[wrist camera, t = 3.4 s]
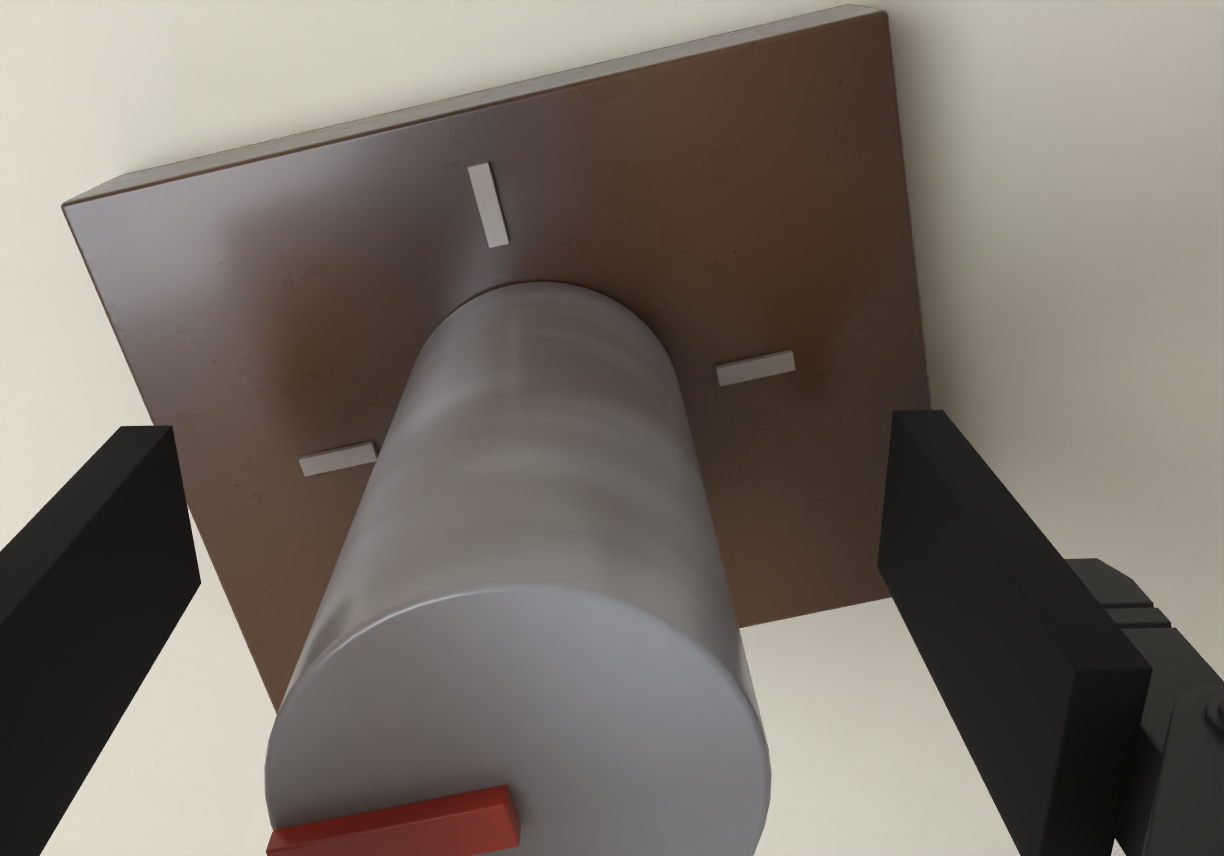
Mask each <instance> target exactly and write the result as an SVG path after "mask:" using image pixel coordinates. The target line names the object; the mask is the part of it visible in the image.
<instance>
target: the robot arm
mask: <svg viewBox="0 0 1224 856" xmlns="http://www.w3.org/2000/svg"><path fill="white" fill-rule="evenodd" d="M877 568H878V570H879V572H880V574H881V576H882V578H883V580H884V582H885V584H886V586H887V588H888V590H889V592H890V594H891V596H892V598H893V600H894V602H895V604H896V606H897V608H898V610H899V612H900V614H901V616H902V618H903V620H904V622H905V624H906V626H907V628H908V630H909V632H910V634H911V636H912V638H913V640H914V642H915V644H916V646H917V648H918V650H919V652H920V654H921V656H922V658H923V660H924V662H925V664H926V666H927V668H928V670H929V672H930V674H931V676H932V678H933V680H934V682H935V684H936V686H937V688H938V690H939V692H940V694H941V696H942V698H943V701H944V703H945V705H946V707H947V709H948V711H949V713H950V715H951V717H952V719H953V721H954V723H955V725H956V727H957V729H958V731H959V733H960V735H961V737H962V739H963V741H964V743H965V745H966V747H967V749H968V751H969V753H970V755H971V757H972V759H973V761H974V763H975V765H976V767H977V769H978V771H979V773H980V775H981V777H982V779H983V781H984V783H985V785H986V787H987V789H988V791H989V793H990V795H991V797H992V799H993V801H994V803H995V805H996V807H997V809H998V811H999V813H1000V815H1001V817H1002V819H1003V821H1004V823H1005V825H1006V827H1007V829H1008V831H1009V833H1010V835H1011V837H1012V839H1013V841H1014V843H1015V845H1016V847H1017V849H1018V851H1019V853H1020V855H1021V856H1111V852H1112V848H1113V843H1114V839H1115V838H1116V840H1117V842H1118V843H1119V845H1120V847H1121V848H1122V850H1123V851H1124V853H1125V855H1126V856H1224V681H1223V680H1222V679H1221V678H1220V677H1219V676H1218V675H1217V673H1216V672H1215V671H1214V670H1213V669H1212V668H1211V667H1210V666H1209V664H1208V663H1207V662H1206V661H1205V660H1204V659H1203V658H1202V657H1201V656H1200V654H1199V653H1198V652H1197V651H1196V650H1195V649H1194V648H1193V647H1192V646H1191V644H1190V643H1189V642H1188V641H1187V640H1186V639H1185V638H1184V637H1183V635H1182V634H1181V633H1180V632H1179V631H1178V630H1177V629H1176V628H1172V627H1171V622H1170V621H1169V620H1168V619H1167V618H1166V617H1165V615H1164V614H1163V613H1162V612H1161V611H1160V610H1159V609H1158V608H1154V606H1153V602H1152V601H1151V600H1150V599H1149V598H1148V596H1147V595H1146V594H1145V593H1144V592H1143V591H1142V590H1141V589H1140V588H1139V586H1138V585H1137V584H1136V583H1135V582H1134V581H1133V580H1132V579H1131V578H1129V577H1128V576H1126V575H1124V574H1123V573H1121V572H1119V571H1118V570H1116V569H1114V568H1113V567H1111V566H1109V565H1108V564H1106V563H1104V562H1102V561H1101V560H1099V559H1097V558H1090V559H1063V557H1062V556H1061V555H1060V554H1059V552H1058V551H1057V550H1056V549H1055V547H1054V546H1053V545H1052V544H1051V543H1050V541H1049V540H1048V539H1047V538H1046V536H1045V535H1044V534H1043V533H1042V531H1041V530H1040V529H1039V528H1038V527H1037V525H1036V524H1035V523H1034V522H1033V520H1032V519H1031V518H1030V517H1029V516H1028V514H1027V513H1026V512H1025V511H1024V509H1023V508H1022V507H1021V506H1020V504H1019V503H1018V502H1017V501H1016V500H1015V498H1014V497H1013V496H1012V495H1011V493H1010V492H1009V491H1008V490H1007V488H1006V487H1005V486H1004V485H1003V484H1002V482H1001V481H1000V480H999V479H998V477H997V476H996V475H995V474H994V472H993V471H992V470H991V469H990V468H989V466H988V465H987V464H986V463H985V461H984V460H983V459H982V458H981V457H980V455H979V454H978V453H977V452H976V450H975V449H974V448H973V447H972V445H971V444H970V443H969V442H968V441H967V439H966V438H965V437H964V436H963V434H962V433H961V432H960V431H959V429H958V428H957V427H956V426H955V425H954V423H953V422H952V421H951V420H950V418H949V417H948V416H947V415H946V413H945V412H944V411H943V410H905V411H893V415H892V424H891V434H890V444H889V454H888V464H887V474H886V484H885V494H884V503H883V513H882V523H881V533H880V543H879V553H878V563H877ZM200 584H201V579H200V574H199V568H198V563H197V557H196V552H195V546H194V541H193V535H192V530H191V524H190V519H189V513H188V508H187V502H186V497H185V491H184V486H183V480H182V475H181V470H180V464H179V459H178V453H177V448H176V442H175V437H174V431H173V426H172V425H163V426H121V427H120V428H119V429H118V430H117V431H116V432H115V433H114V434H113V435H112V436H111V437H110V438H109V439H108V440H107V441H106V442H105V443H104V445H103V446H102V447H101V448H100V449H99V450H98V451H97V452H96V453H95V454H94V455H93V456H92V457H91V458H90V459H89V460H88V461H87V462H86V463H85V464H84V465H83V466H82V467H81V468H80V469H79V470H78V472H77V473H76V474H75V475H74V476H73V477H72V478H71V479H70V480H69V481H68V482H67V483H66V484H65V485H64V486H63V487H62V488H61V489H60V490H59V491H58V492H57V493H56V494H55V495H54V496H53V498H52V499H51V500H50V501H49V502H48V503H47V504H46V505H45V506H44V507H43V508H42V509H41V510H40V511H39V512H38V513H37V514H36V515H35V516H34V517H33V518H32V519H31V520H30V521H29V522H28V523H27V525H26V526H25V527H24V528H23V529H22V530H21V531H20V532H19V533H18V534H17V535H16V536H15V537H14V538H13V539H12V540H11V541H10V542H9V543H8V544H7V545H6V546H5V547H4V548H3V549H2V551H1V552H0V856H40V854H41V852H42V851H43V849H44V847H45V846H46V844H47V842H48V840H49V839H50V837H51V835H52V834H53V832H54V830H55V829H56V827H57V825H58V824H59V822H60V820H61V819H62V817H63V815H64V814H65V812H66V810H67V808H68V807H69V805H70V803H71V802H72V800H73V798H74V797H75V795H76V793H77V792H78V790H79V788H80V787H81V785H82V783H83V781H84V780H85V778H86V776H87V775H88V773H89V771H90V770H91V768H92V766H93V765H94V763H95V761H96V760H97V758H98V756H99V755H100V753H101V751H102V749H103V748H104V746H105V744H106V743H107V741H108V739H109V738H110V736H111V734H112V733H113V731H114V729H115V728H116V726H117V724H118V723H119V721H120V719H121V717H122V716H123V714H124V712H125V711H126V709H127V707H128V706H129V704H130V702H131V701H132V699H133V697H134V696H135V694H136V692H137V691H138V689H139V687H140V685H141V684H142V682H143V680H144V679H145V677H146V675H147V674H148V672H149V670H150V669H151V667H152V665H153V664H154V662H155V660H156V659H157V657H158V655H159V653H160V652H161V650H162V648H163V647H164V645H165V643H166V642H167V640H168V638H169V637H170V635H171V633H172V632H173V630H174V628H175V627H176V625H177V623H178V621H179V620H180V618H181V616H182V615H183V613H184V611H185V610H186V608H187V606H188V605H189V603H190V601H191V600H192V598H193V596H194V594H195V593H196V591H197V589H198V588H199V586H200Z"/></svg>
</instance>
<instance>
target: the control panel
mask: <svg viewBox="0 0 1224 856" xmlns="http://www.w3.org/2000/svg"><path fill="white" fill-rule="evenodd" d="M61 208H62V211H63V213H64V216H65V218H66V220H67V223H68V225H69V227H70V230H71V232H72V234H73V237H74V239H75V241H76V244H77V246H78V249H79V251H80V253H81V256H82V258H83V260H84V263H85V265H86V267H87V270H88V272H89V274H90V277H91V279H92V281H93V284H94V286H95V288H96V291H97V293H98V296H99V298H100V300H101V303H102V305H103V307H104V310H105V312H106V314H107V317H108V319H109V321H110V324H111V326H112V328H113V331H114V333H115V335H116V338H117V340H118V342H119V345H120V347H121V350H122V352H123V354H124V357H125V359H126V361H127V364H128V366H129V368H130V371H131V373H132V375H133V378H134V380H135V382H136V385H137V387H138V389H139V392H140V394H141V397H142V399H143V401H144V404H145V406H146V408H147V411H148V413H149V415H150V418H151V420H152V422H153V425H154V426H163V425H172V426H173V431H174V437H175V442H176V448H177V453H178V459H179V464H180V470H181V475H182V480H183V486H184V491H185V497H186V502H187V505H188V507H189V509H190V512H191V514H192V516H193V519H194V521H195V523H196V526H197V528H198V530H199V533H200V535H201V537H202V540H203V542H204V544H205V547H206V549H207V552H208V554H209V556H210V559H211V561H212V563H213V566H214V568H215V570H216V573H217V575H218V577H219V580H220V582H221V584H222V587H223V589H224V591H225V594H226V596H227V598H228V601H229V603H230V606H231V608H232V610H233V613H234V615H235V617H236V620H237V622H238V624H239V627H240V629H241V631H242V634H243V636H244V638H245V641H246V643H247V645H248V648H249V650H250V653H251V655H252V657H253V660H254V662H255V664H256V667H257V669H258V671H259V674H260V676H261V678H262V681H263V683H264V685H265V688H266V690H267V692H268V695H269V697H270V699H271V702H272V704H273V707H274V709H275V711H276V714H277V713H278V711H279V708H280V706H281V703H282V701H283V698H284V696H285V693H286V691H287V688H288V685H289V683H290V680H291V678H292V675H293V673H294V670H295V668H296V665H297V662H298V660H299V657H300V655H301V652H302V650H303V647H304V645H305V642H306V639H307V637H308V634H309V632H310V629H311V627H312V624H313V622H314V619H315V616H316V614H317V611H318V609H319V606H320V604H321V601H322V599H323V596H324V593H325V591H326V588H327V586H328V583H329V581H330V578H331V576H332V573H333V570H334V568H335V565H336V563H337V560H338V558H339V555H340V553H341V550H342V547H343V545H344V542H345V540H346V537H347V535H348V532H349V530H350V527H351V524H352V522H353V519H354V517H355V514H356V512H357V509H358V507H359V504H360V501H361V499H362V496H363V494H364V491H365V489H366V486H367V484H368V481H369V478H370V476H371V473H372V471H373V468H374V466H375V463H376V461H377V458H378V455H379V453H380V450H381V448H382V445H383V443H384V440H385V438H386V435H387V433H388V430H389V427H390V425H391V422H392V420H393V417H394V415H395V412H396V410H397V407H398V404H399V402H400V399H401V397H402V394H403V392H404V389H405V387H406V384H407V381H408V379H409V376H410V374H411V371H412V369H413V366H414V364H415V361H416V359H417V357H418V355H419V353H420V351H421V349H422V347H423V346H424V344H425V343H426V341H427V340H428V338H429V337H430V336H431V334H432V333H433V331H434V330H435V329H436V328H437V327H438V326H439V325H440V324H441V323H442V322H443V321H444V320H445V319H446V318H447V317H448V316H449V315H451V314H452V313H453V312H454V311H456V310H457V309H458V308H459V307H461V306H462V305H464V304H466V303H467V302H469V301H471V300H472V299H474V298H476V297H478V296H480V295H483V294H485V293H487V292H489V291H492V290H495V289H498V288H502V287H505V286H509V285H514V284H520V283H526V282H557V283H567V284H571V285H575V286H580V287H584V288H587V289H590V290H593V291H595V292H598V293H601V294H603V295H605V296H607V297H609V298H611V299H613V300H615V301H617V302H619V303H620V304H622V305H623V306H624V307H626V308H627V309H629V310H630V311H632V312H633V313H634V314H635V315H636V316H638V317H639V318H640V319H641V320H642V321H643V322H644V323H645V324H646V325H647V326H648V327H649V328H650V329H651V330H652V332H653V333H654V334H655V335H656V337H657V338H658V339H659V340H660V342H661V344H662V345H663V347H664V348H665V350H666V352H667V353H668V355H669V358H670V360H671V362H672V364H673V367H674V369H675V372H676V375H677V379H678V382H679V386H680V390H681V394H682V398H683V402H684V406H685V410H686V414H687V418H688V422H689V427H690V431H691V435H692V439H693V443H694V447H695V451H696V455H697V459H698V463H699V467H700V471H701V475H702V480H703V484H704V488H705V492H706V496H707V500H708V504H709V508H710V512H711V516H712V520H713V524H714V528H715V533H716V537H717V541H718V545H719V549H720V553H721V557H722V561H723V565H724V569H725V573H726V577H727V581H728V586H729V590H730V594H731V598H732V602H733V606H734V610H735V614H736V618H737V622H738V626H739V628H743V627H748V626H753V625H757V624H762V623H767V622H772V621H777V620H782V619H787V618H792V617H797V616H802V615H806V614H811V613H816V612H821V611H826V610H831V609H836V608H841V607H846V606H851V605H856V604H860V603H865V602H870V601H875V600H880V599H885V598H890V597H892V596H891V594H890V592H889V590H888V588H887V586H886V584H885V582H884V580H883V578H882V576H881V574H880V572H879V570H878V568H877V563H878V553H879V543H880V533H881V523H882V513H883V503H884V494H885V484H886V474H887V464H888V454H889V444H890V434H891V424H892V415H893V411H905V410H933V409H932V400H931V392H930V383H929V374H928V365H927V356H926V347H925V338H924V329H923V320H922V311H921V302H920V293H919V284H918V275H917V266H916V257H915V248H914V239H913V230H912V221H911V213H910V204H909V195H908V186H907V177H906V168H905V159H904V150H903V141H902V132H901V123H900V114H899V105H898V96H897V87H896V78H895V69H894V60H893V51H892V43H891V34H890V25H889V16H888V13H887V11H885V10H880V9H874V8H868V7H863V6H857V5H851V4H847V5H843V6H839V7H834V8H830V9H826V10H822V11H817V12H813V13H809V14H805V15H800V16H796V17H792V18H788V19H783V20H779V21H775V22H771V23H766V24H762V25H758V26H754V27H749V28H745V29H741V30H737V31H732V32H728V33H724V34H720V35H715V36H711V37H707V38H703V39H698V40H694V41H690V42H686V43H681V44H677V45H673V46H669V47H665V48H660V49H656V50H652V51H648V52H643V53H639V54H635V55H631V56H626V57H622V58H618V59H614V60H609V61H605V62H601V63H597V64H592V65H588V66H584V67H580V68H575V69H571V70H567V71H563V72H558V73H554V74H550V75H546V76H541V77H537V78H533V79H529V80H524V81H520V82H516V83H512V84H507V85H503V86H499V87H495V88H490V89H486V90H482V91H478V92H474V93H469V94H465V95H461V96H457V97H452V98H448V99H444V100H440V101H435V102H431V103H427V104H423V105H418V106H414V107H410V108H406V109H401V110H397V111H393V112H389V113H384V114H380V115H376V116H372V117H367V118H363V119H359V120H355V121H350V122H346V123H342V124H338V125H333V126H329V127H325V128H321V129H316V130H312V131H308V132H304V133H300V134H295V135H291V136H287V137H283V138H278V139H274V140H270V141H266V142H261V143H257V144H253V145H249V146H244V147H240V148H236V149H232V150H227V151H223V152H219V153H215V154H210V155H206V156H202V157H198V158H193V159H189V160H185V161H181V162H176V163H172V164H168V165H164V166H159V167H155V168H151V169H147V170H142V171H138V172H134V173H130V174H125V175H121V176H117V177H115V178H113V179H111V180H109V181H107V182H105V183H103V184H101V185H99V186H97V187H95V188H93V189H90V190H88V191H86V192H84V193H82V194H80V195H78V196H76V197H74V198H72V199H70V200H68V201H66V202H64V203H63V204H62V205H61Z"/></svg>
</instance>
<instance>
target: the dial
mask: <svg viewBox="0 0 1224 856" xmlns="http://www.w3.org/2000/svg"><path fill="white" fill-rule="evenodd" d="M264 772H265V797H266V802H267V807H268V813H269V818H270V823H271V826H272V829H273V832H272V835H271V838H270V841H269V844H268V846H267V849H266V854H267V856H753V854H754V852H755V850H756V847H757V845H758V842H759V839H760V837H761V834H762V832H763V829H764V826H765V822H766V818H767V813H768V808H769V803H770V795H771V766H770V758H769V749H768V744H767V740H766V736H765V732H764V728H763V724H762V720H761V716H760V712H759V708H758V704H757V700H756V696H755V691H754V687H753V683H752V679H751V675H750V671H749V667H748V663H747V659H746V655H745V651H744V647H743V643H742V639H741V634H740V630H739V626H738V622H737V618H736V614H735V610H734V606H733V602H732V598H731V594H730V590H729V586H728V581H727V577H726V573H725V569H724V565H723V561H722V557H721V553H720V549H719V545H718V541H717V537H716V533H715V528H714V524H713V520H712V516H711V512H710V508H709V504H708V500H707V496H706V492H705V488H704V484H703V480H702V475H701V471H700V467H699V463H698V459H697V455H696V451H695V447H694V443H693V439H692V435H691V431H690V427H689V422H688V418H687V414H686V410H685V406H684V402H683V398H682V394H681V390H680V386H679V382H678V379H677V375H676V372H675V369H674V367H673V364H672V362H671V360H670V358H669V355H668V353H667V352H666V350H665V348H664V347H663V345H662V344H661V342H660V340H659V339H658V338H657V337H656V335H655V334H654V333H653V332H652V330H651V329H650V328H649V327H648V326H647V325H646V324H645V323H644V322H643V321H642V320H641V319H640V318H639V317H638V316H636V315H635V314H634V313H633V312H632V311H630V310H629V309H627V308H626V307H624V306H623V305H622V304H620V303H619V302H617V301H615V300H613V299H611V298H609V297H607V296H605V295H603V294H601V293H598V292H595V291H593V290H590V289H587V288H584V287H580V286H575V285H571V284H567V283H557V282H526V283H520V284H514V285H509V286H505V287H502V288H498V289H495V290H492V291H489V292H487V293H485V294H483V295H480V296H478V297H476V298H474V299H472V300H471V301H469V302H467V303H466V304H464V305H462V306H461V307H459V308H458V309H457V310H456V311H454V312H453V313H452V314H451V315H449V316H448V317H447V318H446V319H445V320H444V321H443V322H442V323H441V324H440V325H439V326H438V327H437V328H436V329H435V330H434V331H433V333H432V334H431V336H430V337H429V338H428V340H427V341H426V343H425V344H424V346H423V347H422V349H421V351H420V353H419V355H418V357H417V359H416V361H415V364H414V366H413V369H412V371H411V374H410V376H409V379H408V381H407V384H406V387H405V389H404V392H403V394H402V397H401V399H400V402H399V404H398V407H397V410H396V412H395V415H394V417H393V420H392V422H391V425H390V427H389V430H388V433H387V435H386V438H385V440H384V443H383V445H382V448H381V450H380V453H379V455H378V458H377V461H376V463H375V466H374V468H373V471H372V473H371V476H370V478H369V481H368V484H367V486H366V489H365V491H364V494H363V496H362V499H361V501H360V504H359V507H358V509H357V512H356V514H355V517H354V519H353V522H352V524H351V527H350V530H349V532H348V535H347V537H346V540H345V542H344V545H343V547H342V550H341V553H340V555H339V558H338V560H337V563H336V565H335V568H334V570H333V573H332V576H331V578H330V581H329V583H328V586H327V588H326V591H325V593H324V596H323V599H322V601H321V604H320V606H319V609H318V611H317V614H316V616H315V619H314V622H313V624H312V627H311V629H310V632H309V634H308V637H307V639H306V642H305V645H304V647H303V650H302V652H301V655H300V657H299V660H298V662H297V665H296V668H295V670H294V673H293V675H292V678H291V680H290V683H289V685H288V688H287V691H286V693H285V696H284V698H283V701H282V703H281V706H280V708H279V711H278V713H277V716H276V719H275V722H274V725H273V728H272V731H271V735H270V738H269V741H268V747H267V754H266V760H265V767H264Z"/></svg>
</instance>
